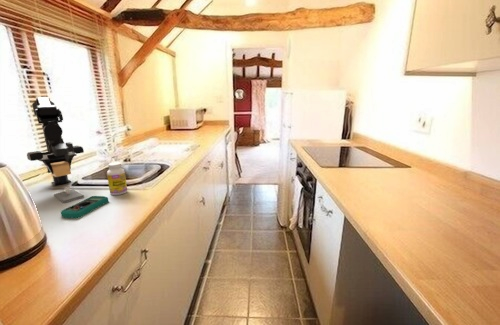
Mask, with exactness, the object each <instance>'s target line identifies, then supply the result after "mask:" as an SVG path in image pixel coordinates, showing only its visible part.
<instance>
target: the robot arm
mask: <svg viewBox="0 0 500 325" xmlns="http://www.w3.org/2000/svg"><path fill="white" fill-rule="evenodd" d="M32 110H33V115H34V116H36V119H37V122H38V124H39V125H40V124H41V128H42V133H43V137H44V142H45V146H46V151H44V152H42V151H40V150H36V151H29V152H27V153H26V157H27V160H28V161H31V162H33V161H39V162H42V164H44V165H45V166H46V170H47V173H48V174H51V173H52V174H53V169H52V166H51V163H56V162H62V161H65V162H68V163H69V166H70V170H71V168H72V162H73V159H74V158H75V157H76V156H77V154H84V152H85V151H84V148H83V146H81V145H74V144H73V142H72V141H68V142H64V139H63V136H62V135H63V128H62V127H61V126H60V124H59V123H63V121H64V116H63V113H62V111H61V110H60V108H59V107H57V106H56V104H55V103H54V102H53V101H51V98H50V97H48V96H47V97H46V96H43V97H41V96H38V97H35V101H34V102H33V103H32ZM52 174H51V176H52V182H50V183H51V184H52V185H54V186H58V185H59V186H60V185H64V184H68V183H71V182H72V181H71V179H69V177H68V175H63V176H59V177H55V176H53V175H52Z"/></svg>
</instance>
